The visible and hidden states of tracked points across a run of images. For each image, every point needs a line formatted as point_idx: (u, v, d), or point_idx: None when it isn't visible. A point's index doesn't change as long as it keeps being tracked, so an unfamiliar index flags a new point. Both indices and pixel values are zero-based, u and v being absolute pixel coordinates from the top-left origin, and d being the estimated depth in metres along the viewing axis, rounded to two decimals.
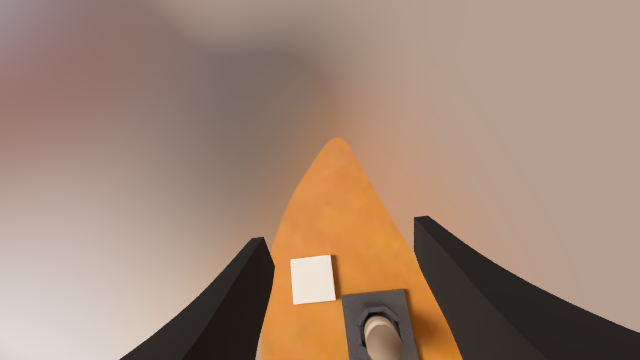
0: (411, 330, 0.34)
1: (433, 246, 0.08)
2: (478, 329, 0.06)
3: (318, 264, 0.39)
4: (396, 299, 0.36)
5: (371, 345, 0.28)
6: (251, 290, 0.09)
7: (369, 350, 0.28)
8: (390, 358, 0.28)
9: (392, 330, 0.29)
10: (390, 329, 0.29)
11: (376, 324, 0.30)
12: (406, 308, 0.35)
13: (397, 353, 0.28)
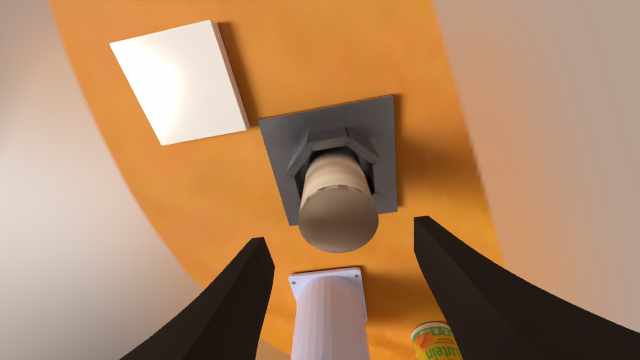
0: (393, 167, 0.18)
1: (433, 246, 0.08)
2: (478, 329, 0.06)
3: (185, 52, 0.15)
4: (373, 117, 0.17)
5: (309, 225, 0.13)
6: (251, 290, 0.09)
7: (305, 233, 0.13)
8: (349, 241, 0.13)
9: (359, 196, 0.12)
10: (354, 194, 0.12)
11: (322, 184, 0.12)
12: (391, 132, 0.17)
13: (365, 233, 0.13)
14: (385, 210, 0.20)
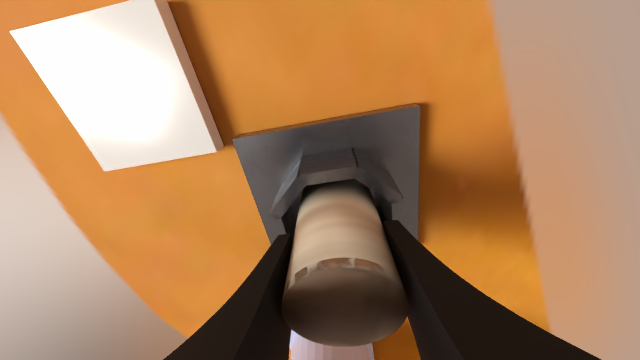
0: (415, 199, 0.14)
1: (396, 250, 0.09)
2: (428, 333, 0.06)
3: (122, 44, 0.10)
4: (390, 134, 0.12)
5: (300, 314, 0.08)
6: (283, 286, 0.09)
7: (294, 324, 0.08)
8: (361, 333, 0.09)
9: (380, 278, 0.07)
10: (372, 276, 0.07)
11: (320, 253, 0.08)
12: (415, 155, 0.13)
13: (387, 324, 0.08)
14: None
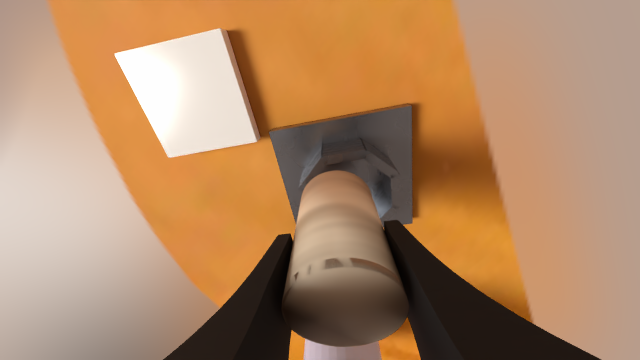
0: (409, 179, 0.18)
1: (396, 250, 0.09)
2: (428, 333, 0.06)
3: (194, 62, 0.14)
4: (389, 127, 0.16)
5: (300, 314, 0.08)
6: (283, 287, 0.09)
7: (294, 324, 0.08)
8: (362, 333, 0.09)
9: (380, 278, 0.07)
10: (373, 276, 0.07)
11: (320, 253, 0.08)
12: (408, 143, 0.16)
13: (387, 324, 0.08)
14: None
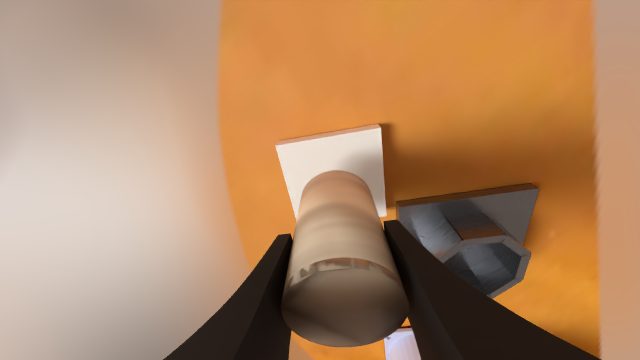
0: None
1: (396, 250, 0.09)
2: (428, 333, 0.06)
3: (348, 153, 0.15)
4: (513, 205, 0.17)
5: (299, 314, 0.08)
6: (283, 286, 0.09)
7: (293, 324, 0.08)
8: (361, 333, 0.08)
9: (380, 278, 0.07)
10: (372, 276, 0.07)
11: (320, 253, 0.08)
12: (527, 218, 0.18)
13: (387, 324, 0.08)
14: None
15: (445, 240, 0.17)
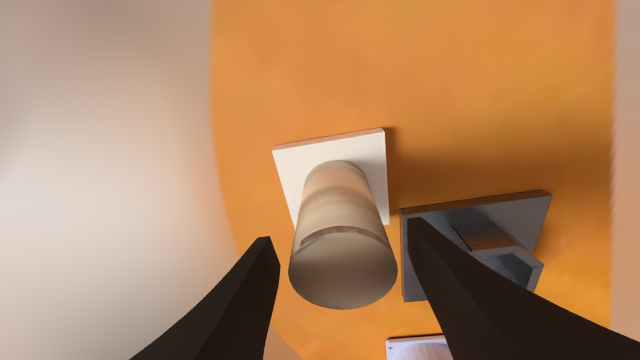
0: None
1: (425, 247, 0.08)
2: (466, 330, 0.06)
3: (349, 159, 0.14)
4: (524, 213, 0.16)
5: (304, 277, 0.09)
6: (258, 289, 0.09)
7: (299, 287, 0.10)
8: (357, 296, 0.10)
9: (372, 242, 0.08)
10: (366, 241, 0.08)
11: (321, 223, 0.09)
12: (538, 226, 0.17)
13: (379, 287, 0.09)
14: None
15: None
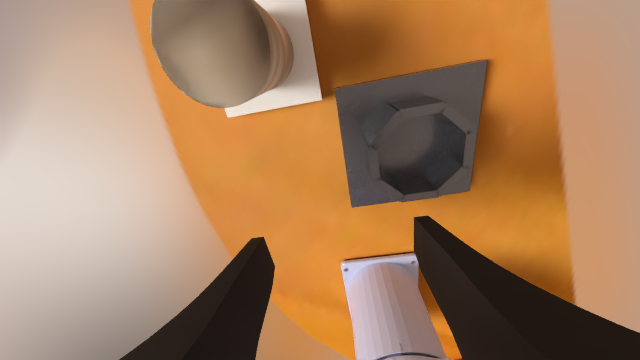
0: None
1: (433, 246, 0.08)
2: (478, 329, 0.06)
3: (268, 10, 0.14)
4: (460, 84, 0.15)
5: (171, 52, 0.09)
6: (251, 290, 0.09)
7: (170, 70, 0.09)
8: (236, 83, 0.09)
9: None
10: None
11: None
12: (478, 102, 0.16)
13: (255, 66, 0.09)
14: (456, 190, 0.19)
15: (383, 120, 0.15)
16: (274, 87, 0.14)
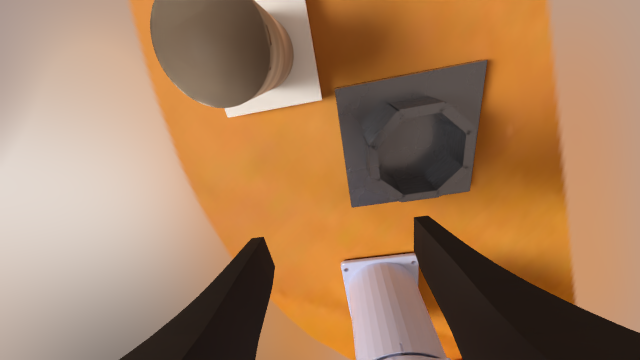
0: None
1: (433, 246, 0.08)
2: (478, 329, 0.06)
3: (268, 10, 0.14)
4: (460, 84, 0.15)
5: (171, 52, 0.09)
6: (251, 290, 0.09)
7: (170, 70, 0.09)
8: (236, 83, 0.09)
9: None
10: None
11: None
12: (478, 102, 0.16)
13: (255, 66, 0.09)
14: (456, 190, 0.19)
15: (383, 120, 0.15)
16: (274, 87, 0.14)
